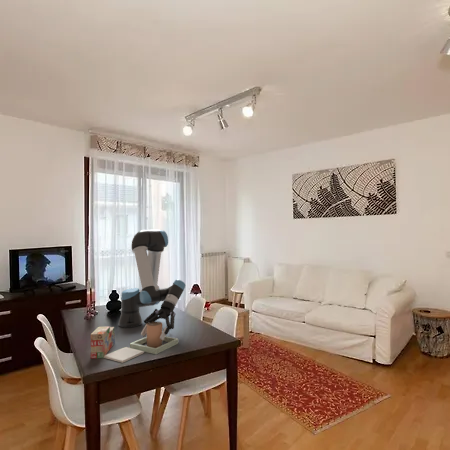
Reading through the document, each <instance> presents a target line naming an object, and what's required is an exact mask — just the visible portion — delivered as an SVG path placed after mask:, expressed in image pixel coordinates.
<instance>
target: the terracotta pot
mask: <svg viewBox="0 0 450 450" xmlns="http://www.w3.org/2000/svg"><path fill="white" fill-rule="evenodd" d="M162 332H163V322H161V321H155V322H149V323H147V332H146V337H147V342H146V346H148V347H152V348H157V347H160V346H162V345H163V341H162V340H161V339H160V336H161V334H162Z"/></svg>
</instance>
